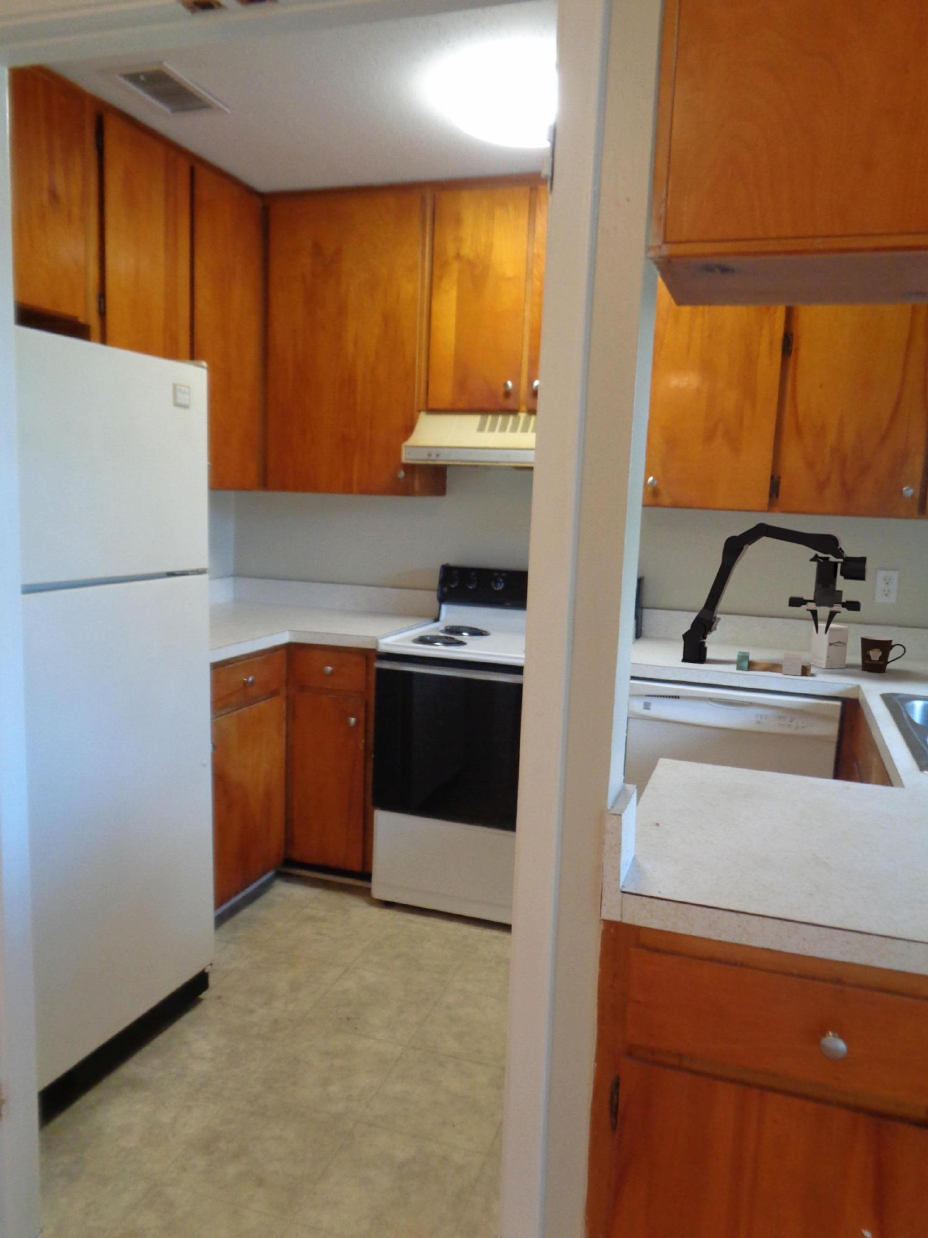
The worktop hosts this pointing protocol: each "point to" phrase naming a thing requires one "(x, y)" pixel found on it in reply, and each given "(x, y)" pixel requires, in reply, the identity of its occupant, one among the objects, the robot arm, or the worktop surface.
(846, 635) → the supplement box
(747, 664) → the track
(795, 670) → the block
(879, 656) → the coffee mug
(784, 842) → the worktop surface
